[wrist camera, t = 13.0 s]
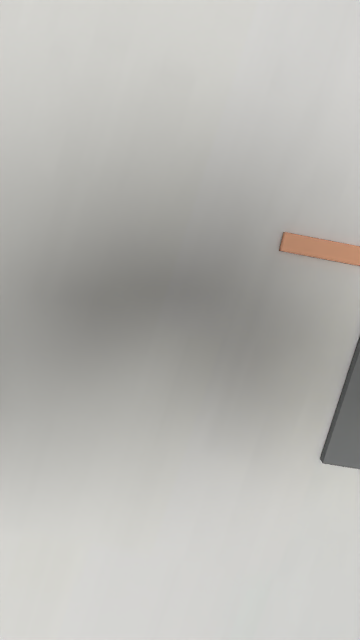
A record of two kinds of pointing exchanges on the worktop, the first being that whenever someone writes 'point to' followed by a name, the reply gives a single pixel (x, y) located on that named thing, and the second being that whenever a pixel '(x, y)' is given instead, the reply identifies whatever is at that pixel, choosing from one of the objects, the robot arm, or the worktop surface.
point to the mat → (346, 423)
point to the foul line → (320, 248)
